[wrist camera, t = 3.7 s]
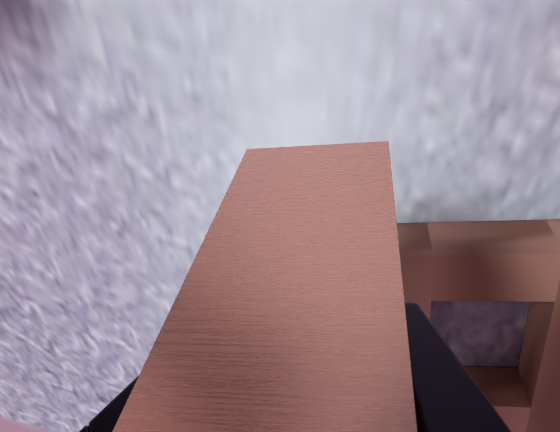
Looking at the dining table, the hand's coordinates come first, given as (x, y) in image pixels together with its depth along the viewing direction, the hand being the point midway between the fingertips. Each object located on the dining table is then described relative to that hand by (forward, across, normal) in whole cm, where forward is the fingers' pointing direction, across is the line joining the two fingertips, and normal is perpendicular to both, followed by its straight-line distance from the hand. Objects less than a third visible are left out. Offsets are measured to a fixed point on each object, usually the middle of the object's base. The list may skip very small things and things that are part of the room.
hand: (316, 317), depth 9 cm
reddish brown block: (+3, 0, 0) cm, 3 cm away
